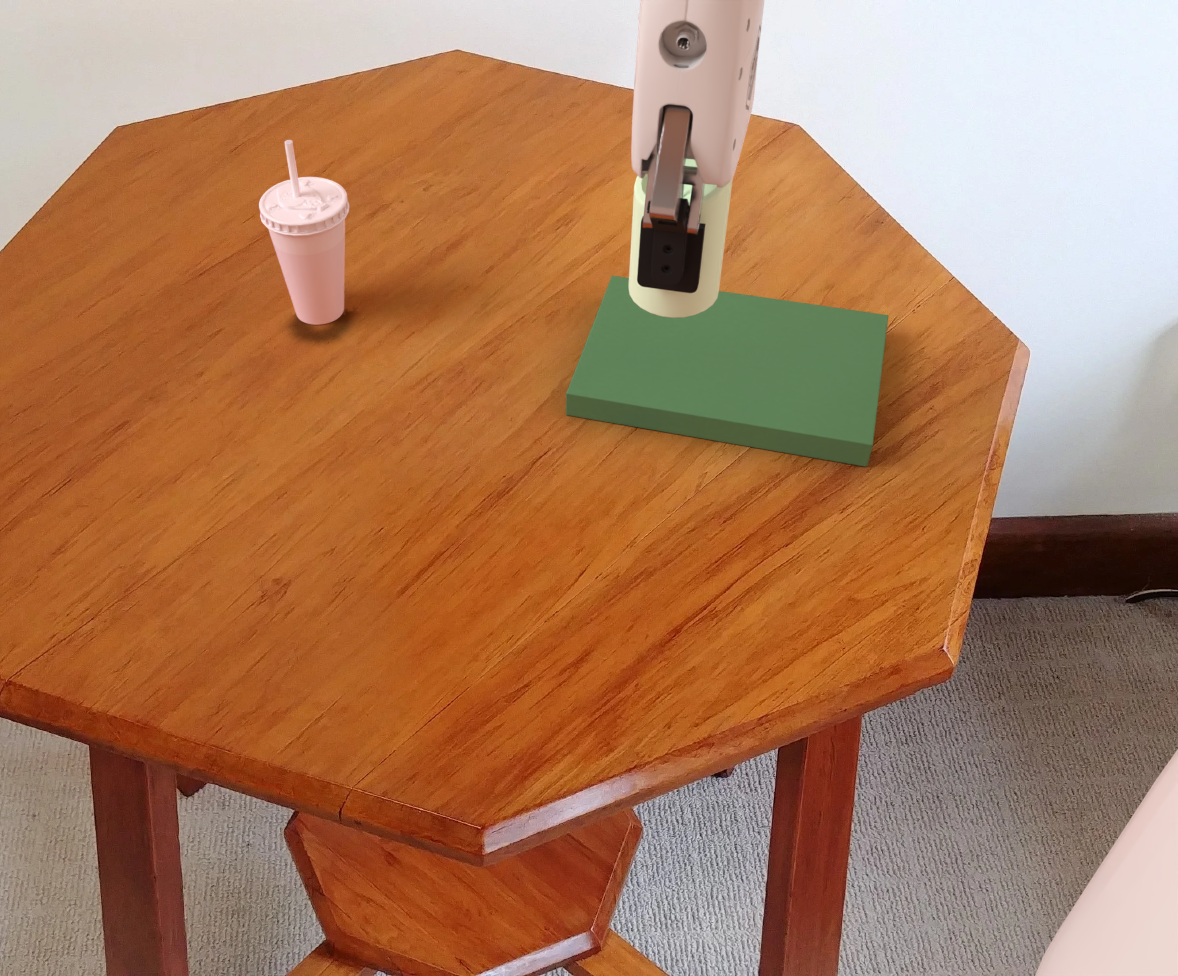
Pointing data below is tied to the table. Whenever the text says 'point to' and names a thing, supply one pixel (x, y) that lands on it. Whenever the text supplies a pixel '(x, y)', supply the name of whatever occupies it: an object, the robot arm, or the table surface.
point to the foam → (737, 373)
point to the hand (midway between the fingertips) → (676, 256)
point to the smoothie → (309, 241)
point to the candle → (712, 254)
